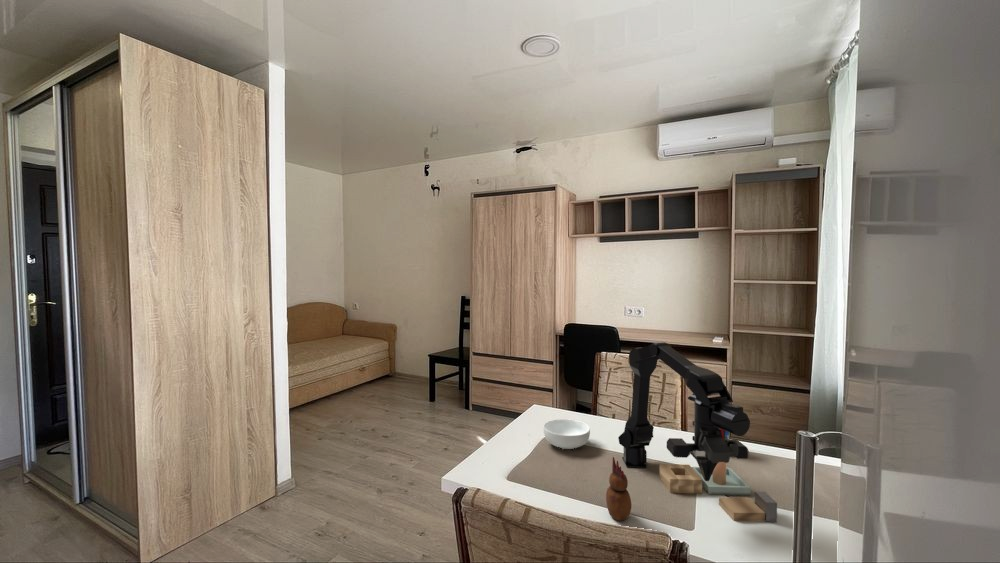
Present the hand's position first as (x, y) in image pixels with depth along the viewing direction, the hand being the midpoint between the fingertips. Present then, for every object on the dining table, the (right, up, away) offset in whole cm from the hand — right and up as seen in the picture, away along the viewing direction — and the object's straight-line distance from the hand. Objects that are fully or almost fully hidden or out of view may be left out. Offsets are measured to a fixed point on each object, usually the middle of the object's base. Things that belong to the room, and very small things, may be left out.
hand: (706, 480), depth 104 cm
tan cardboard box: (+10, -10, +1) cm, 14 cm away
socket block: (0, -9, +15) cm, 17 cm away
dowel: (+12, -8, +15) cm, 21 cm away
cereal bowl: (-30, -9, +43) cm, 53 cm away
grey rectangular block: (+15, -9, 0) cm, 18 cm away
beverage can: (+23, -8, +37) cm, 44 cm away
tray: (+12, -9, +15) cm, 21 cm away
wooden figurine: (-23, -10, 0) cm, 25 cm away
